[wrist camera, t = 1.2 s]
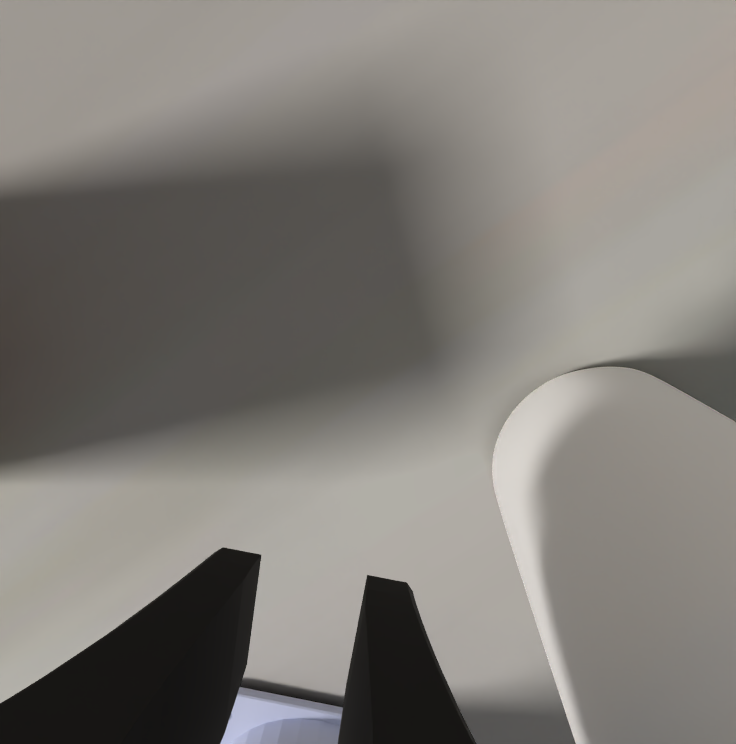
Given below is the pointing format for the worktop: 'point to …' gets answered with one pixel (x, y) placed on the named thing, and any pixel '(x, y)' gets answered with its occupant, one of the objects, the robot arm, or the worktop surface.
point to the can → (627, 552)
